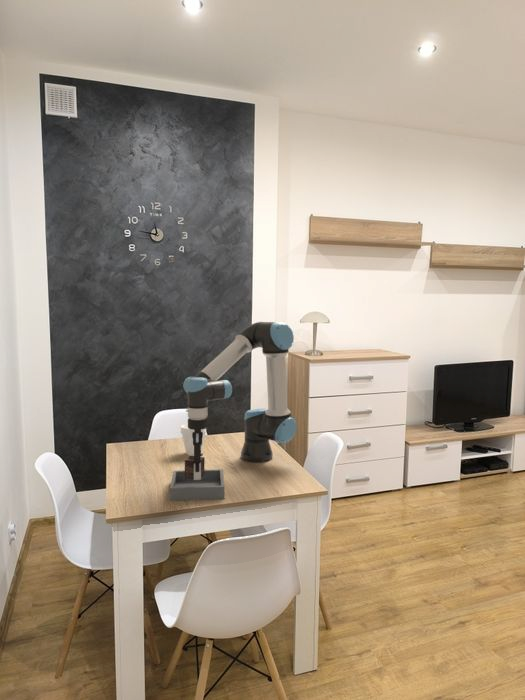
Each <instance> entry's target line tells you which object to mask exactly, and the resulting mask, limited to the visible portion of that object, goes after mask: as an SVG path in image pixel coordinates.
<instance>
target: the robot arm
mask: <svg viewBox="0 0 525 700" xmlns="http://www.w3.org/2000/svg"><path fill="white" fill-rule="evenodd" d="M294 338H295V337H294V332H293V330H292V328H291V327H290V326H289V325H288V324H287V323H285V322H280V321H279V322H278V321H257V322H254V323H252V324H250V325H248V326H247V327H245V328H244V329H242V330H241V331H240V332H239V333H238V334H237V335H235V337H234V340H233V341H232V342H231V343H230V344H229V345H228V346H227V347H226V348H225V349H224V350H222V351H221V352H220V353H219V354H218V355H217V356H216V357H214V359H213V360H211V361H210V362H209V363H208V364H207V365H206V366H205V367H204V368H203V369H202V370H201V371H199V372H198V373H197V374H196V375H195V376H188V377H186V378H185V380H184V382H183V385H182V386H183V390H184V391H185V393H186V394H187V409H186V410H185V412H186V413H187V417H188V418H187V424H188V428H189V429H193V430H194V432H193V434H192V438H193V445H194V462H192V464H194V480H201V457H204V453H202V450H201V445H202V438H203V432H201V429H206V430H207V428H208V413H209V411H208V409H209V408H208V404H209V402H210V401H217V400H218V401H219V400H224V399H228V398H230V397H231V395H232V393H233V386H232V384H231V382H230V381H229V380H227V379H220V378H221V377H223V375H225V373H226V372H227V371H229V369H231V367H233V365H235V364H236V363H237V362H239V360H240V359H241V358H242V357H244V355H246V354H247V353H248V354H249V353H251V352H252V351H253V350H254V349H257V348H261V351H262V354H263V355H264V356H265V360H266V382H267V383H266V384H267V386H266V389H267V407H268V408H254V409H248V410H247V411H246V412H244V420H243V421H244V443H243V446H242V448H241V451H240V459H241V460H243V461H245V462H252V463H263V462H268V461H271V460H273V458H272V457H273V454H274V453H273V450H272V446H271V444H270V441H274V442H276V443H283V444H286V443H289V442H290V441H291V440H293V438H294V436H295V435H296V432H297V425H298V424H297V421H296V420H295V418H293V417H292V411H291V410H290V409H289V408H288V394H287V366H286V364H287V363H286V361H287V360H286V356H287V355H288V354H289V349H290V348H291V347H292V346H293V344H294V340H295V339H294ZM219 379H220V380H219ZM270 459H271V460H270ZM267 460H268V461H267ZM262 461H263V462H262Z"/></svg>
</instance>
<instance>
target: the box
mask: <svg viewBox="0 0 525 700" xmlns="http://www.w3.org/2000/svg"><path fill="white" fill-rule="evenodd" d="M192 462H194V456H190V455H189V457H187V458H185V459H184V470H185V478H190V479H194V464H192ZM205 464H206V463H205V457H204V456H201V477H202V476H204V470H205V466H206V465H205Z"/></svg>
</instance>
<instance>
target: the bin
mask: <svg viewBox="0 0 525 700" xmlns="http://www.w3.org/2000/svg"><path fill="white" fill-rule="evenodd" d="M224 499H225V478H224V469H223V468H221V469H217V468H216V469H204V476H202V477H201V480H194V479H190V478H185V469H184V470H182V469H181V470H173V471H172V475H171V482H170V485H169V501H170V502H174V501H197V500H224Z"/></svg>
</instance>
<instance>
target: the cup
mask: <svg viewBox="0 0 525 700" xmlns="http://www.w3.org/2000/svg"><path fill="white" fill-rule="evenodd" d="M193 432H194V430H193V429H189V428H188V423H185V424H182V425H180V434H181V435H182V436H181V437H182V440H183V443H184V449H185V453H186V455H187V456H189V457H190V456H194V445H193V438H192V434H193ZM201 432H203V438H202V445H201V451H202V450H203V445H204V440H205V436H206V433H207V428H206V429H201Z"/></svg>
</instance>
